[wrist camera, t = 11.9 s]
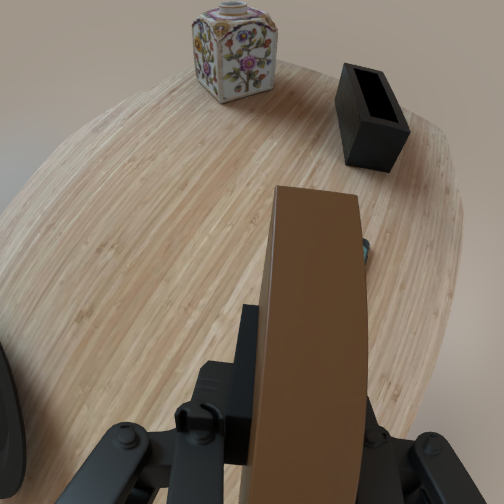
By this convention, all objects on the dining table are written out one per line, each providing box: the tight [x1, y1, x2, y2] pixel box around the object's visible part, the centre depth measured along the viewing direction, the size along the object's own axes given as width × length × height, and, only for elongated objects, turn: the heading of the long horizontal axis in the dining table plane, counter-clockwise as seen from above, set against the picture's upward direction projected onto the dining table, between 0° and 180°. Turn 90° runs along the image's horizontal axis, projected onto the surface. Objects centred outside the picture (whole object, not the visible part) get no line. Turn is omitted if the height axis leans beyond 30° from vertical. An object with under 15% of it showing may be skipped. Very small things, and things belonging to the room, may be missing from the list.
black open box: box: [335, 63, 411, 173], centre depth 42 cm, size 18×8×9 cm, turn 174°
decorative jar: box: [192, 1, 278, 104], centre depth 44 cm, size 12×12×18 cm
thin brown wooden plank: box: [239, 186, 368, 504], centre depth 9 cm, size 11×2×12 cm, turn 175°
